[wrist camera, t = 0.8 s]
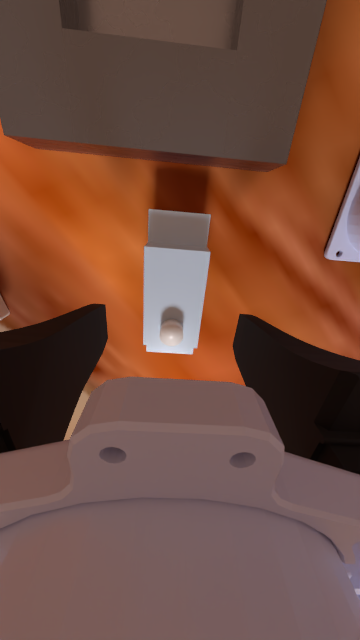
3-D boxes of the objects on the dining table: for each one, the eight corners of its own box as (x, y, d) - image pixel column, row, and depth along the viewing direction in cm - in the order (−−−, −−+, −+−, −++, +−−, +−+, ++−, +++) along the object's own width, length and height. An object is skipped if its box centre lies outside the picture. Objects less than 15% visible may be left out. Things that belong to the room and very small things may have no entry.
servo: (153, 208, 17) (141, 208, 11) (205, 213, 17) (218, 215, 11) (150, 333, 22) (141, 374, 16) (190, 336, 22) (194, 378, 16)
